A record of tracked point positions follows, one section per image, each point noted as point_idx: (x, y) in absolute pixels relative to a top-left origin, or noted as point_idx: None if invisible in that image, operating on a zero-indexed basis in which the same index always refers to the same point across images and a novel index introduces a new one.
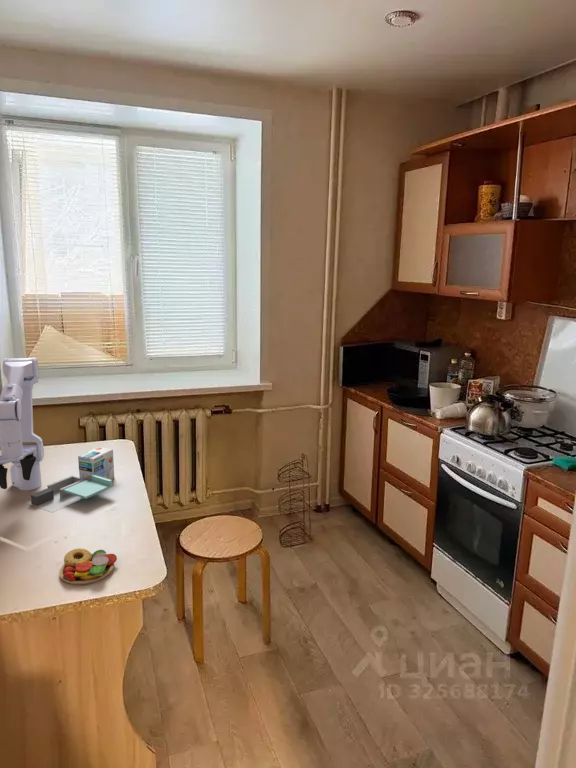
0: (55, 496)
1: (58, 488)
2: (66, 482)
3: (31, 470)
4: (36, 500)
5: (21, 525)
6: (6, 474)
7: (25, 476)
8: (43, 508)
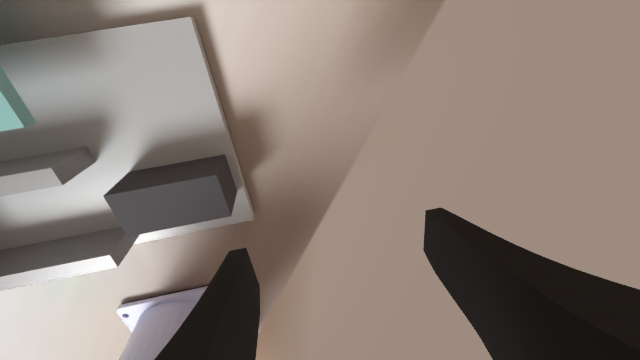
0: None
1: (75, 242)
2: (11, 262)
3: (185, 320)
4: (220, 168)
5: (357, 34)
6: (549, 294)
7: (250, 291)
8: (211, 106)
